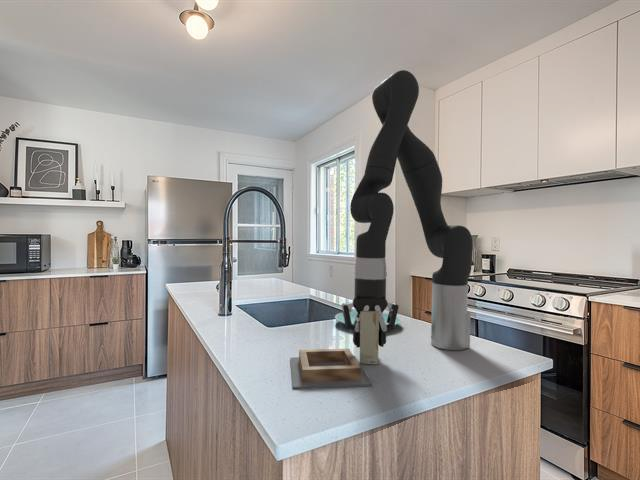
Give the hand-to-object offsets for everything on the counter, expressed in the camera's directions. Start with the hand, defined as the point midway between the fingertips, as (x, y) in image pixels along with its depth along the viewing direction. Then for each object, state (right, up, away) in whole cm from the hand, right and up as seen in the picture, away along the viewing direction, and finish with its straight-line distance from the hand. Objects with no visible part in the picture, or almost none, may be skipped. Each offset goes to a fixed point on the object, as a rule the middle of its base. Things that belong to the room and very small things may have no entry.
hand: (369, 345), depth 82 cm
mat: (-10, -3, -7) cm, 13 cm away
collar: (-10, -3, -7) cm, 13 cm away
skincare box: (0, -4, 0) cm, 4 cm away
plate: (+4, -4, +33) cm, 33 cm away
